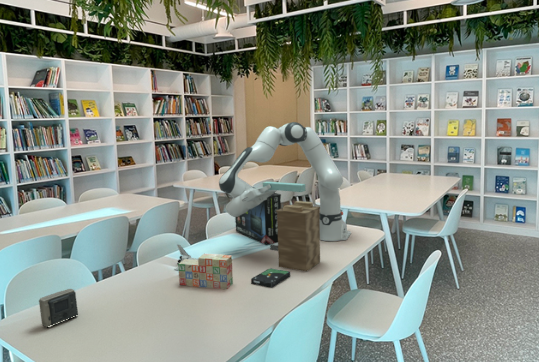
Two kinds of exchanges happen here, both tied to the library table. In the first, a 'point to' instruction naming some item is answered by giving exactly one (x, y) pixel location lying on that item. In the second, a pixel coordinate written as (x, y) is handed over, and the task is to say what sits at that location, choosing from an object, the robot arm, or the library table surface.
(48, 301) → the camera
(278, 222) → the brown tall textured block
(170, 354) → the library table surface
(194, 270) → the stack of blocks
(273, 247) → the graphics card
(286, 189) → the batten
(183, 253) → the space shuttle model
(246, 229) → the router box
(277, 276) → the disk drive
